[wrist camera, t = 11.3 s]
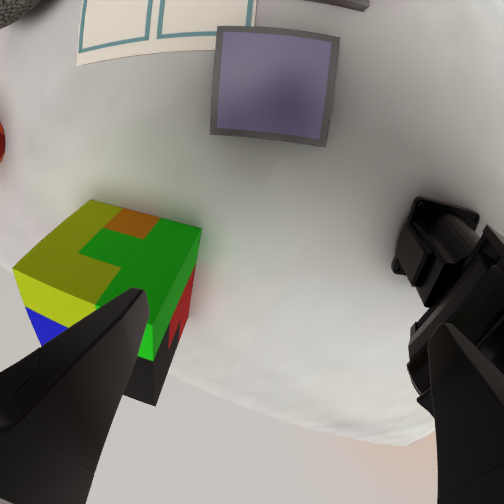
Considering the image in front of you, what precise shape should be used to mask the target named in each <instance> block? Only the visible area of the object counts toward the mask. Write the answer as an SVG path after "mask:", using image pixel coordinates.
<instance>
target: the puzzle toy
mask: <svg viewBox="0 0 504 504" xmlns="http://www.w3.org/2000/svg"><path fill="white" fill-rule="evenodd" d="M201 231H202V229H201V228H197V227H193V226H190V225H186V224H182V223H178V222H175V221H171V220H167V219H163V218H159V217H156V216H152V215H148V214H144V213H140V212H136V211H133V210H129V209H125V208H121V207H117V206H113V205H109V204H106V203H102V202H98V201H94V200H90V201H88V202H87V203H86V204H84V205H83V206H82V207H81V208H79V209H78V210H77V211H76V212H74V213H73V214H72V215H71V216H69V217H68V218H67V219H66V220H64V221H63V222H62V223H61V224H60V225H59V226H57V227H56V228H55V229H54V230H53V231H51V232H50V233H49V234H48V235H47V236H46V237H45V238H43V239H42V240H41V241H40V242H39V243H38V244H37V245H36V246H35V247H34V248H32V249H31V250H30V251H29V252H28V253H27V254H26V255H25V256H24V257H23V258H22V259H21V260H20V261H19V262H18V263H17V264H16V265H15V266H14V267H13V268H12V269H13V272H14V276H15V279H16V282H17V285H18V288H19V291H20V294H21V297H22V299H23V302H24V305H25V308H26V310H27V313H28V315H29V318H30V320H31V323H32V325H33V328H34V330H35V332H36V335H37V337H38V339H39V341H40V343H41V346H42V345H44V344H45V343H47V342H48V341H50V340H51V339H53V338H54V337H56V336H57V335H59V334H60V333H62V332H63V331H65V330H66V329H68V328H69V327H71V326H72V325H74V324H75V323H77V322H78V321H80V320H81V319H83V318H84V317H86V316H87V315H89V314H90V313H92V312H94V311H95V310H97V309H98V308H100V307H101V306H103V305H104V304H106V303H107V302H109V301H111V300H112V299H114V298H115V297H117V296H118V295H120V294H122V293H123V292H125V291H126V290H128V289H130V288H132V287H135V288H140V289H144V290H145V291H146V294H147V299H148V304H149V310H150V314H149V319H148V322H147V325H146V329H145V332H144V335H143V339H142V342H141V346H140V349H139V353H138V356H137V359H136V362H135V365H134V367H133V370H132V372H131V374H130V377H129V379H128V382H127V384H126V387H125V390H124V392H123V395H125V396H128V397H130V398H133V399H136V400H138V401H141V402H144V403H147V404H150V405H153V406H156V404H157V401H158V398H159V395H160V392H161V390H162V387H163V384H164V381H165V378H166V375H167V373H168V370H169V367H170V364H171V362H172V359H173V356H174V354H175V351H176V348H177V345H178V343H179V340H180V337H181V335H182V332H183V329H184V327H185V324H186V321H187V319H188V313H189V306H190V299H191V292H192V286H193V279H194V273H195V266H196V260H197V254H198V248H199V242H200V236H201Z"/></svg>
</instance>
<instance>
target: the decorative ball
mask: <svg viewBox="0 0 504 504" xmlns="http://www.w3.org/2000/svg"><path fill="white" fill-rule="evenodd" d="M40 1H41V0H0V29H1V28H3V27H6V26H8V25H10V24H12V23H13V22H15V21H17V20H19V19H20V18H22V17H23V16H24V15H26V14H27V13H28V12H30V11H31V10H32V9H33V8H34V7H35V6H36V5H38V4H39V2H40Z"/></svg>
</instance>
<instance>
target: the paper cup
mask: <svg viewBox="0 0 504 504" xmlns="http://www.w3.org/2000/svg"><path fill="white" fill-rule="evenodd" d="M4 151H5V136H4V131H3V128H2V125H1V123H0V162H1V161H2V159H3V156H4Z"/></svg>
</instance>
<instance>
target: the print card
mask: <svg viewBox="0 0 504 504" xmlns="http://www.w3.org/2000/svg"><path fill="white" fill-rule="evenodd" d="M256 5H257V0H82V7H81V15H80V23H79V34H78V47H77V66H80V65H85V64H89V63H94V62H99V61H104V60H110V59H115V58H122V57H128V56H135V55H143V54H153V53H163V52H177V51H200V50H215V46H216V34H217V26H255V15H256Z"/></svg>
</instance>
